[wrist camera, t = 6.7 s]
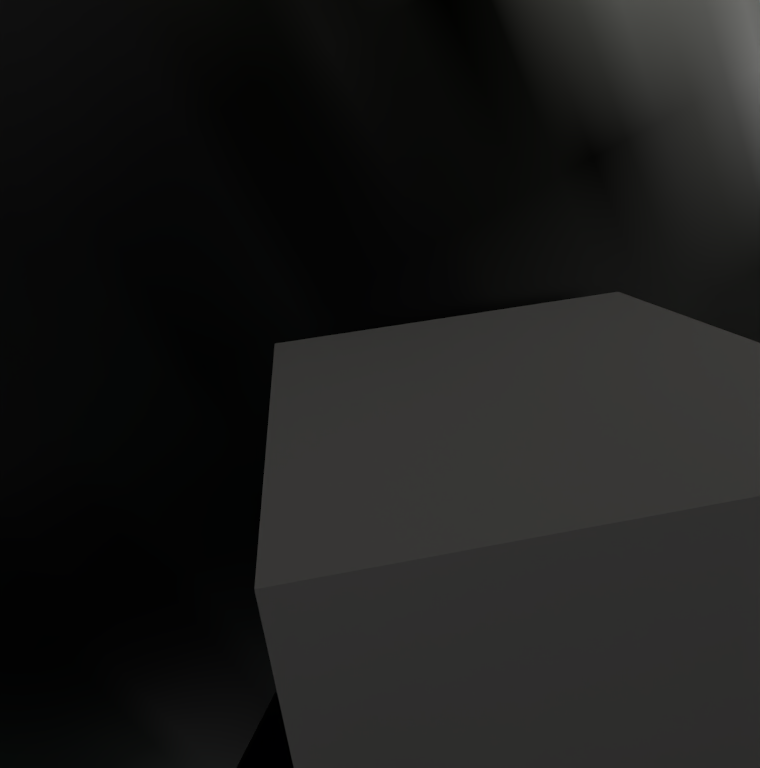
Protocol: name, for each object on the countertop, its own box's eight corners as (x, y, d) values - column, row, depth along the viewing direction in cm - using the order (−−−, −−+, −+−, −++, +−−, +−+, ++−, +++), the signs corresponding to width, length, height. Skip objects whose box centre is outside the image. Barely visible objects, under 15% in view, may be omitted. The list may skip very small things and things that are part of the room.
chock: (355, 807, 11) (417, 1392, 6) (270, 343, 8) (238, 645, 3) (620, 750, 11) (904, 1247, 6) (621, 291, 8) (1134, 473, 3)
